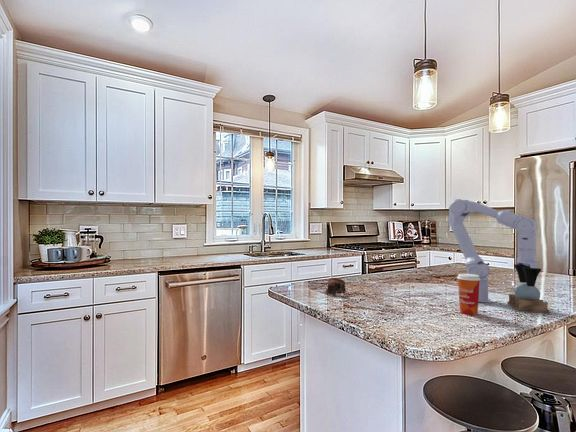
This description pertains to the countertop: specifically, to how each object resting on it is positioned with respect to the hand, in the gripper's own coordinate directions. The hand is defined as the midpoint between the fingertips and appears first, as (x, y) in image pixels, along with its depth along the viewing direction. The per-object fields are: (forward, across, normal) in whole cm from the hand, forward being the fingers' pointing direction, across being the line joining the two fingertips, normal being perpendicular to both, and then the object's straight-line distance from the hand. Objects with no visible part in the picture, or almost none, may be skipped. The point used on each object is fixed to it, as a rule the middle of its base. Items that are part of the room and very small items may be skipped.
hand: (526, 284), depth 129 cm
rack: (+9, 0, 0) cm, 9 cm away
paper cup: (+10, -14, +23) cm, 29 cm away
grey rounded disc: (+8, 0, 0) cm, 8 cm away
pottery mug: (+10, +2, +75) cm, 75 cm away
